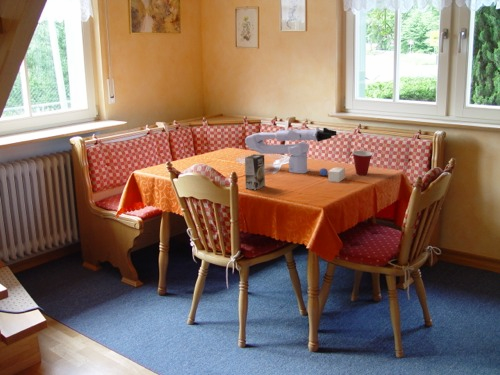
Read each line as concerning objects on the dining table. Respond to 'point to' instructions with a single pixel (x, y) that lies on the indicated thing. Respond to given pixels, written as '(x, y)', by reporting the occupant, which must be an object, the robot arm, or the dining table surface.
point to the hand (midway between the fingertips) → (333, 134)
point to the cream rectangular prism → (336, 174)
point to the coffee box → (254, 171)
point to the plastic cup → (362, 161)
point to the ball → (323, 172)
